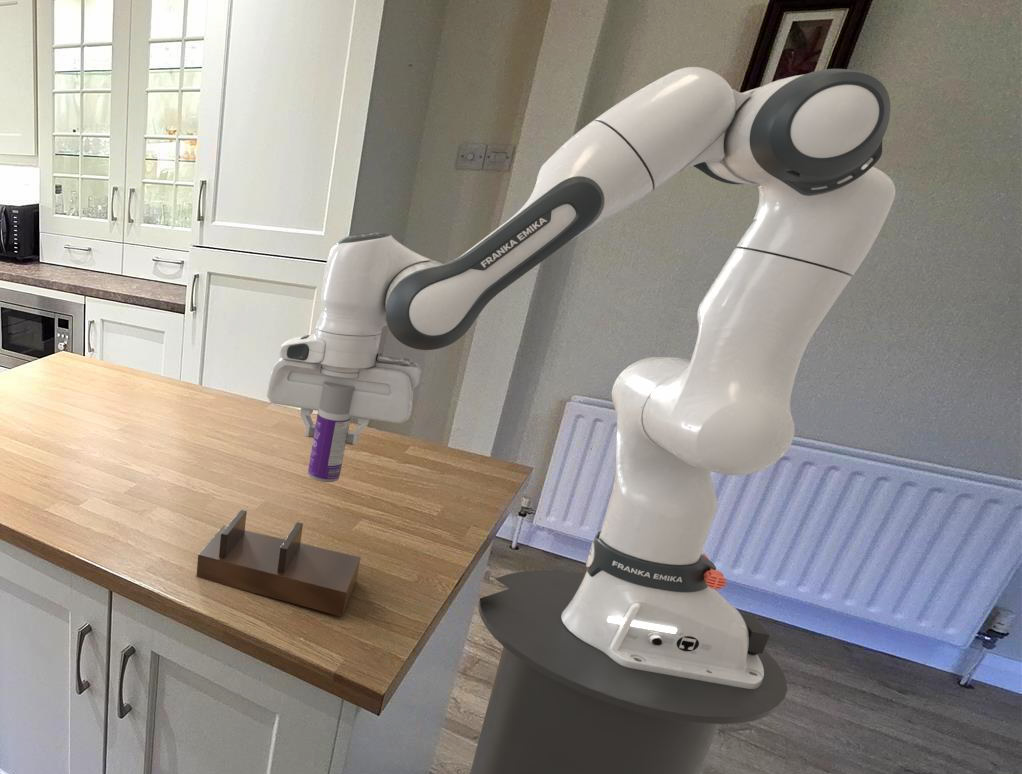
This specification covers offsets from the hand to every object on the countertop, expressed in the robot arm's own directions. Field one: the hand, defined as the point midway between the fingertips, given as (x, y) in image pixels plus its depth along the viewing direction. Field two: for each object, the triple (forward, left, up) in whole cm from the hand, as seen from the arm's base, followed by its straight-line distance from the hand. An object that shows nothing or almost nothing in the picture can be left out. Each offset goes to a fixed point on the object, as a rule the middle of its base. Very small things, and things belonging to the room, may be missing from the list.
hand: (330, 440), depth 111 cm
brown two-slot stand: (+4, +7, -22) cm, 23 cm away
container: (0, 0, -6) cm, 6 cm away
